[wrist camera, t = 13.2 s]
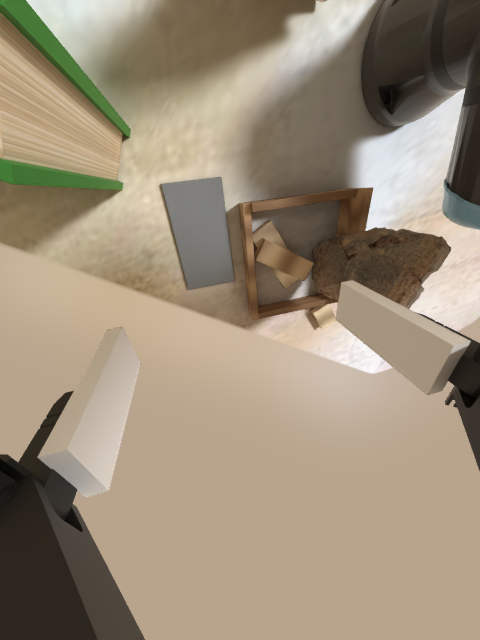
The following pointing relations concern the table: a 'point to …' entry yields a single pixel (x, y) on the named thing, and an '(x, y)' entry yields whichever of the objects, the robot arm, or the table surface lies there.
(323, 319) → the offcut
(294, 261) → the offcut
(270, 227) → the offcut
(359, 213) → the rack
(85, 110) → the hardback book
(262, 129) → the table surface
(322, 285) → the brown rock
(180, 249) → the mat
